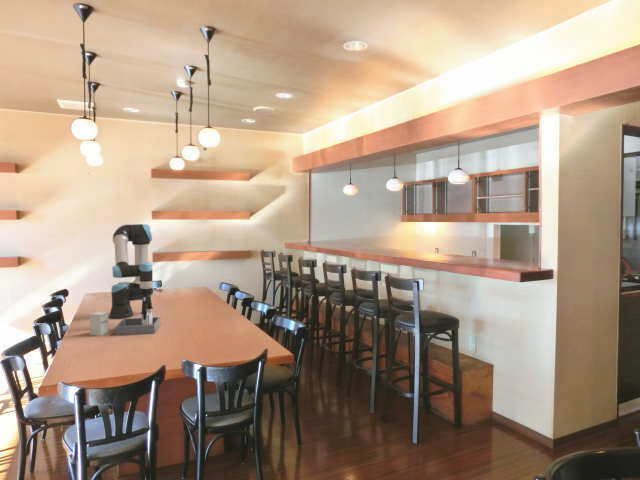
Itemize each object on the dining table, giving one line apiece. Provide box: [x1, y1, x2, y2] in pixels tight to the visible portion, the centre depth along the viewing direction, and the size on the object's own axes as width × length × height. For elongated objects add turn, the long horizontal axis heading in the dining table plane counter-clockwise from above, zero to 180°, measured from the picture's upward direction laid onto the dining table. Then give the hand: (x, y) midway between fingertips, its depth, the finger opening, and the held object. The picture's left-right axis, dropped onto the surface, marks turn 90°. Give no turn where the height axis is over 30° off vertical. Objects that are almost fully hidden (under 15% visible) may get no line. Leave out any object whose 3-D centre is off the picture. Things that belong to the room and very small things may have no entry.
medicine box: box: [142, 312, 153, 325], centre depth 272 cm, size 8×4×9 cm, turn 6°
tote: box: [114, 316, 162, 337], centre depth 271 cm, size 22×22×5 cm
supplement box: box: [89, 311, 110, 337], centre depth 262 cm, size 7×7×13 cm
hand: (147, 322), depth 272 cm, fingers open, 13 cm apart
